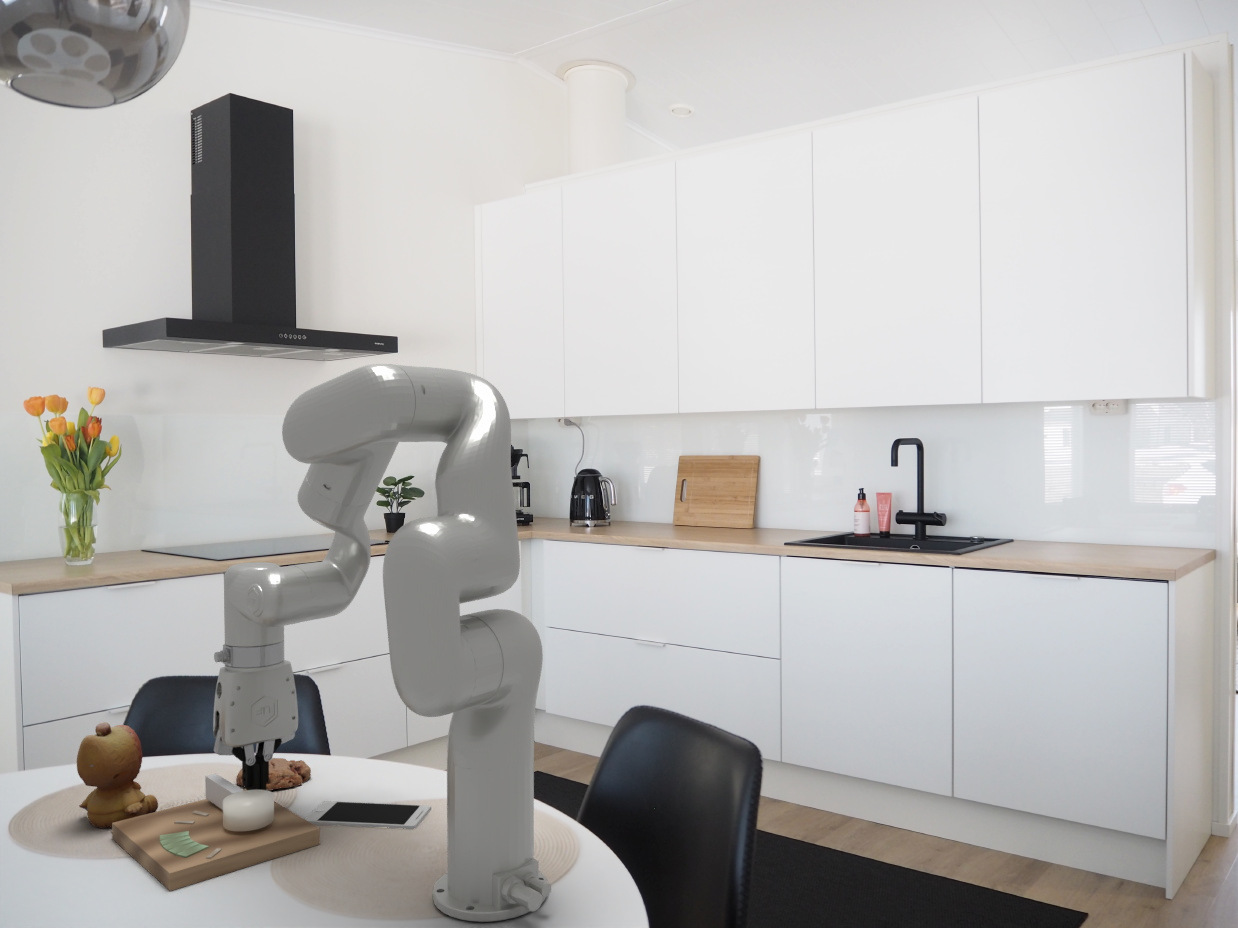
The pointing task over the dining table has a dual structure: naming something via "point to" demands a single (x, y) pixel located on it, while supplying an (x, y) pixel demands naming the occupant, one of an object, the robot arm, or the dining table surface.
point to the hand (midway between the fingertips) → (255, 789)
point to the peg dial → (240, 804)
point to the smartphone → (368, 814)
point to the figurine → (113, 775)
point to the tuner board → (207, 842)
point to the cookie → (284, 773)
